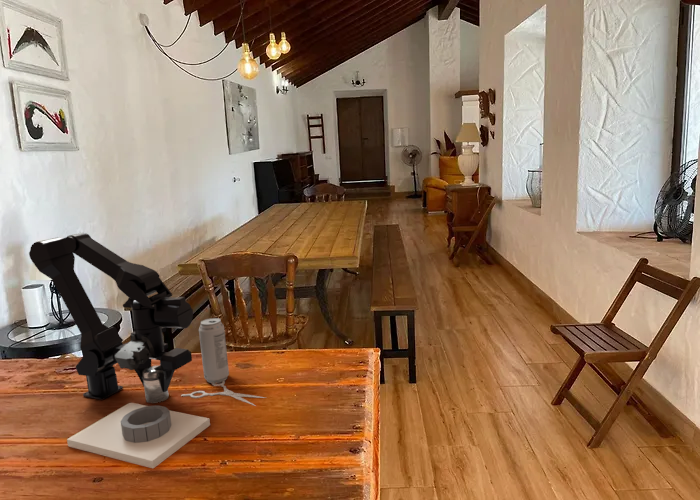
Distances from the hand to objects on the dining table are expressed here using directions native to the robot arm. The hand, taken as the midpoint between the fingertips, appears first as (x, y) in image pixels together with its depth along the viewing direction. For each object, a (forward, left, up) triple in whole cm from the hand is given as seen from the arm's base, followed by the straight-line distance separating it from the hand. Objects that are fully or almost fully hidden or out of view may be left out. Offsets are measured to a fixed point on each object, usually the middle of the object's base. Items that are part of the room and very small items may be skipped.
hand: (156, 389), depth 124 cm
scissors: (+15, +7, -3) cm, 17 cm away
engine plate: (+9, -14, -2) cm, 17 cm away
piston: (0, 0, -2) cm, 2 cm away
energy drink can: (+7, +13, -2) cm, 15 cm away
